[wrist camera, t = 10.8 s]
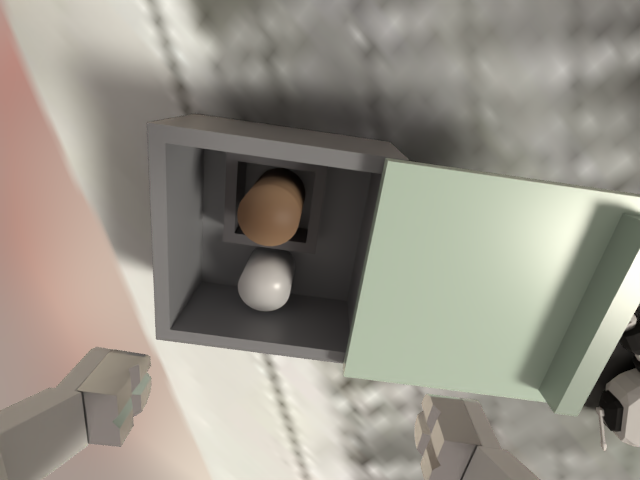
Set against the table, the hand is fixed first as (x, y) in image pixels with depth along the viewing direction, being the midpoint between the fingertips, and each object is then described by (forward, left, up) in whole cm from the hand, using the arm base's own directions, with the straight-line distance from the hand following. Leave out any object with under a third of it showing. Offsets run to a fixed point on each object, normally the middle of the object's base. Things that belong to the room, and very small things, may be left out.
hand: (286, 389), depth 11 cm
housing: (+2, -2, -21) cm, 21 cm away
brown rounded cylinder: (0, -3, -20) cm, 20 cm away
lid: (+2, +11, -13) cm, 17 cm away
